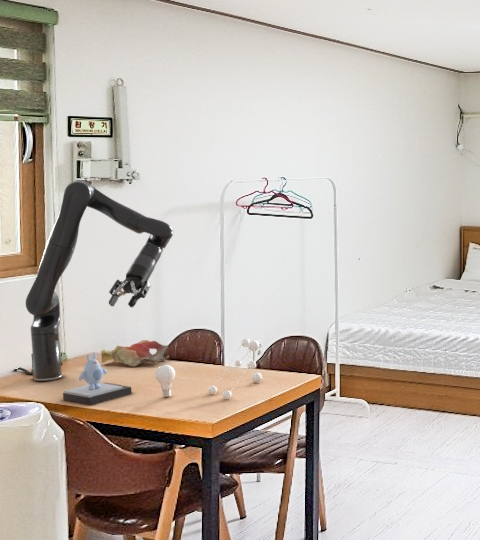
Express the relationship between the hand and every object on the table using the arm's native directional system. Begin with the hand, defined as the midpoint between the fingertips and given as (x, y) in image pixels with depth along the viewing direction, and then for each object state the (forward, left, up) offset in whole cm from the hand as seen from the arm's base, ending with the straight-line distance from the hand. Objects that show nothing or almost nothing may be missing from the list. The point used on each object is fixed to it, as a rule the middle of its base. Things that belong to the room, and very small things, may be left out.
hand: (120, 305), depth 307 cm
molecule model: (+43, +13, -29) cm, 53 cm away
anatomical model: (-26, +27, -29) cm, 48 cm away
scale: (+6, -16, -28) cm, 33 cm away
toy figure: (+6, -17, -25) cm, 31 cm away
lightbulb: (+28, -6, -29) cm, 40 cm away
